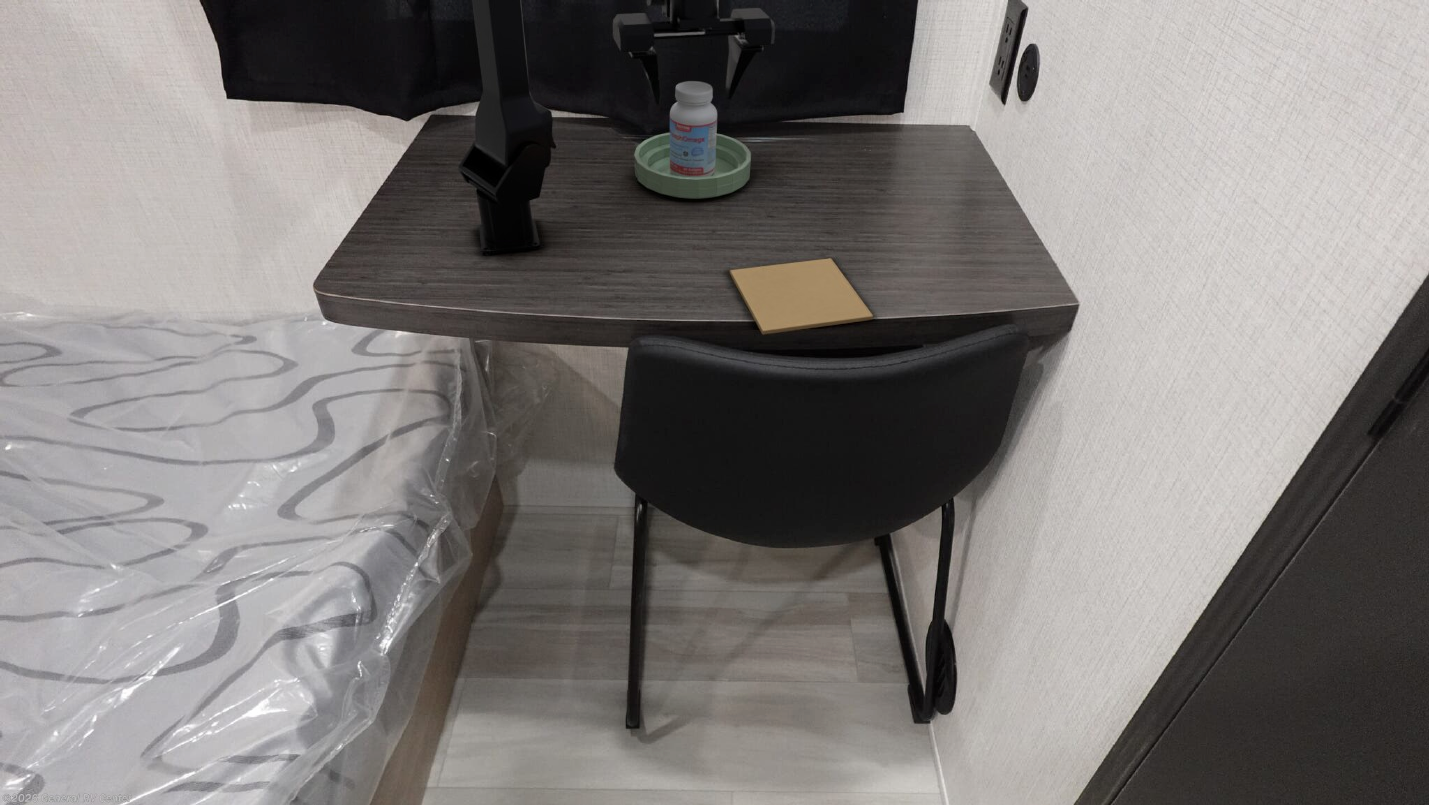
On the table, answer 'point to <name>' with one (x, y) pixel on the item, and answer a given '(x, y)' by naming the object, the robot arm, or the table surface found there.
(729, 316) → the table surface
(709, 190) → the dish
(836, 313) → the cork mat
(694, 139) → the pill bottle
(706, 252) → the table surface
